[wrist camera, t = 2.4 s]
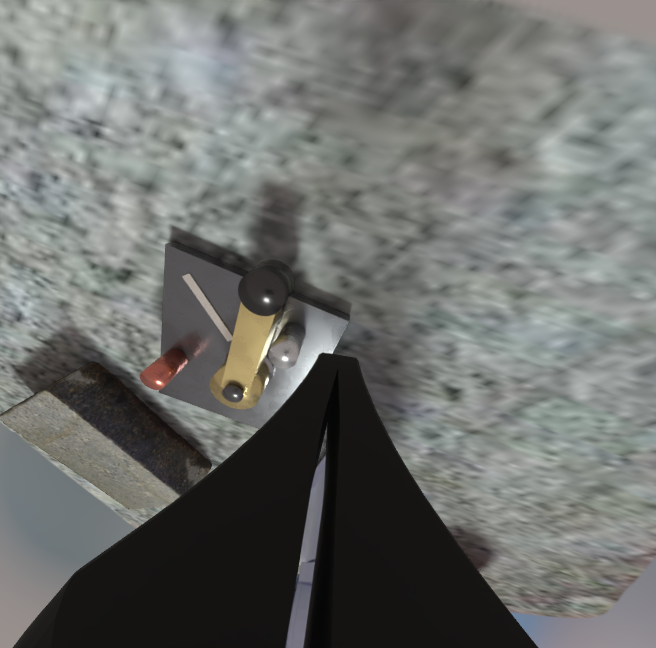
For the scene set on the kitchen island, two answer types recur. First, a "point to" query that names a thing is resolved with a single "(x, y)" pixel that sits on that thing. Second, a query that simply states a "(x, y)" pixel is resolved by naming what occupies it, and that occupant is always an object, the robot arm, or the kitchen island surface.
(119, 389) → the stone block
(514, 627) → the robot arm
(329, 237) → the kitchen island surface
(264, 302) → the crank lever
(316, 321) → the crank base
